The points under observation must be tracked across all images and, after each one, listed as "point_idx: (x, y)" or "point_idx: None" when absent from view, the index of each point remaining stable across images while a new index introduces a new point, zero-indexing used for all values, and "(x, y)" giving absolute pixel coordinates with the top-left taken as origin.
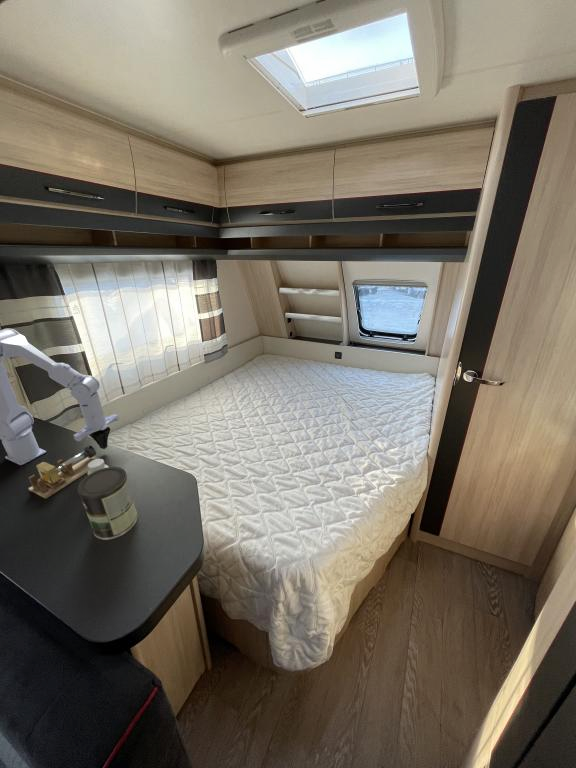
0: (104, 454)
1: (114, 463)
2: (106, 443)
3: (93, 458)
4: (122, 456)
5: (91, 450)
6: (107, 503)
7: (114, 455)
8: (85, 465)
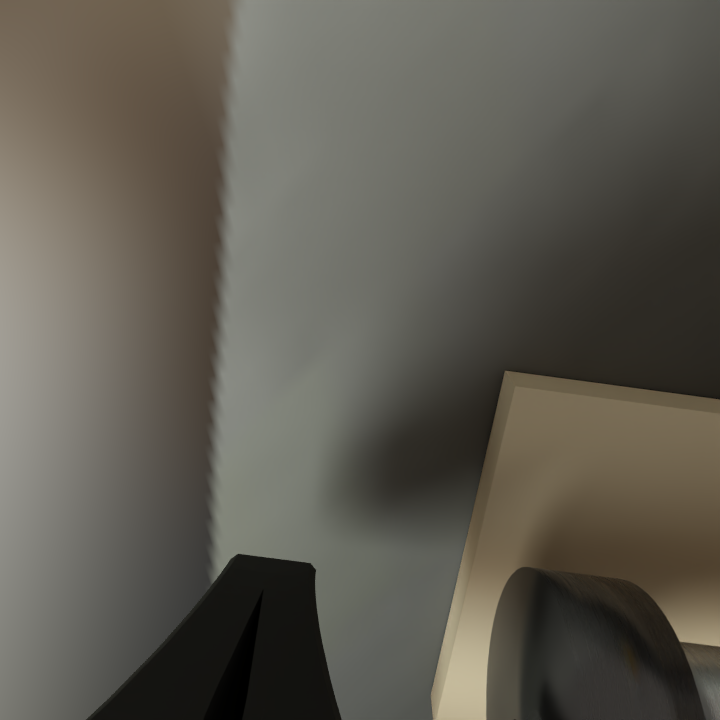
0: (332, 506)
1: (505, 124)
2: (219, 614)
3: (518, 564)
4: (273, 144)
5: (654, 703)
6: None
7: (300, 326)
8: (717, 542)
